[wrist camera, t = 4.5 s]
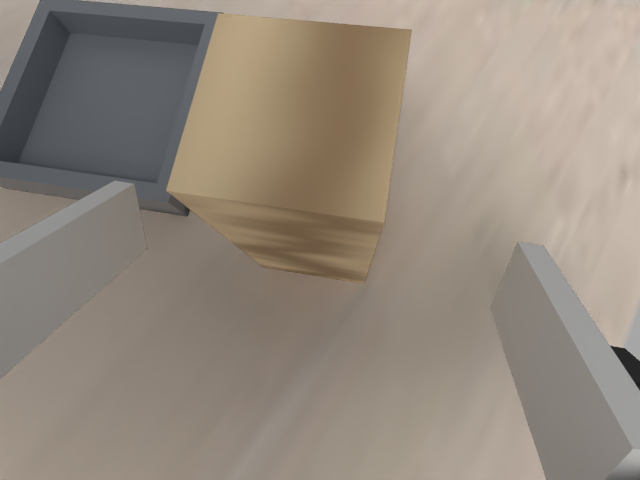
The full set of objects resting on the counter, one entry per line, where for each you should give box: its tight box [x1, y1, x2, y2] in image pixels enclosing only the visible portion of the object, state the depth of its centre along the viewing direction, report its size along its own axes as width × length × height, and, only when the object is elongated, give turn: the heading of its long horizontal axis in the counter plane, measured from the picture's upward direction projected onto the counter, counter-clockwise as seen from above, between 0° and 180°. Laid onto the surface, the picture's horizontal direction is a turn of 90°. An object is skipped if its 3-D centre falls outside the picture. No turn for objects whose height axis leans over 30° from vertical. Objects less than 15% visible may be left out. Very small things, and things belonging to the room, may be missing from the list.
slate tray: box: [0, 0, 224, 216], centre depth 24 cm, size 13×13×2 cm
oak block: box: [166, 13, 412, 284], centre depth 16 cm, size 6×6×12 cm
